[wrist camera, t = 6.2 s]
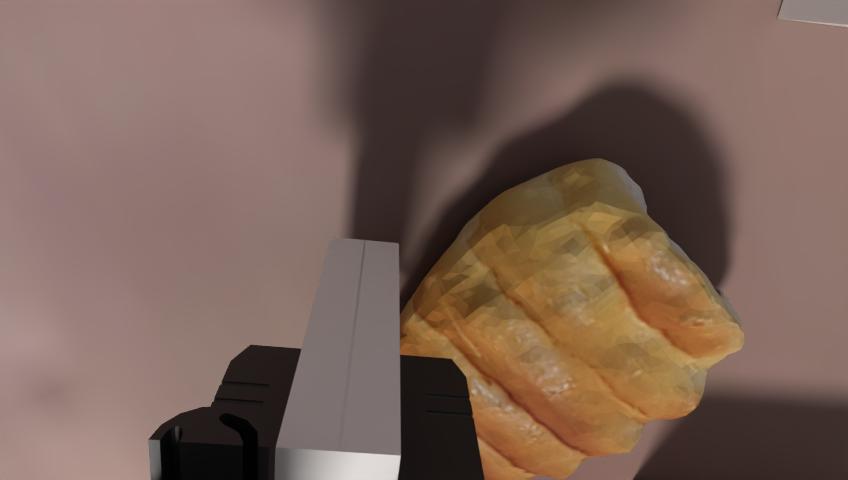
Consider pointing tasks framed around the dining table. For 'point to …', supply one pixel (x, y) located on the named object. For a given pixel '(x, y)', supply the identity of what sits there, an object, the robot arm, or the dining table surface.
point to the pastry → (569, 321)
